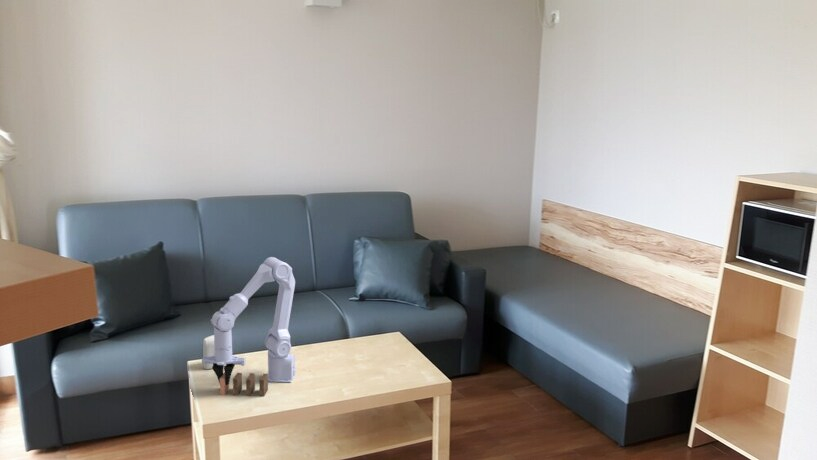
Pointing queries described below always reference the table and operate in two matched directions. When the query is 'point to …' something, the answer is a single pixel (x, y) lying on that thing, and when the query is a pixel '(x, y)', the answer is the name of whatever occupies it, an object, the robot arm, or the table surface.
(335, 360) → the table surface
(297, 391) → the table surface
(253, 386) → the walnut domino
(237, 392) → the walnut domino
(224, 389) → the terracotta domino
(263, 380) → the walnut domino
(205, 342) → the white box with text
